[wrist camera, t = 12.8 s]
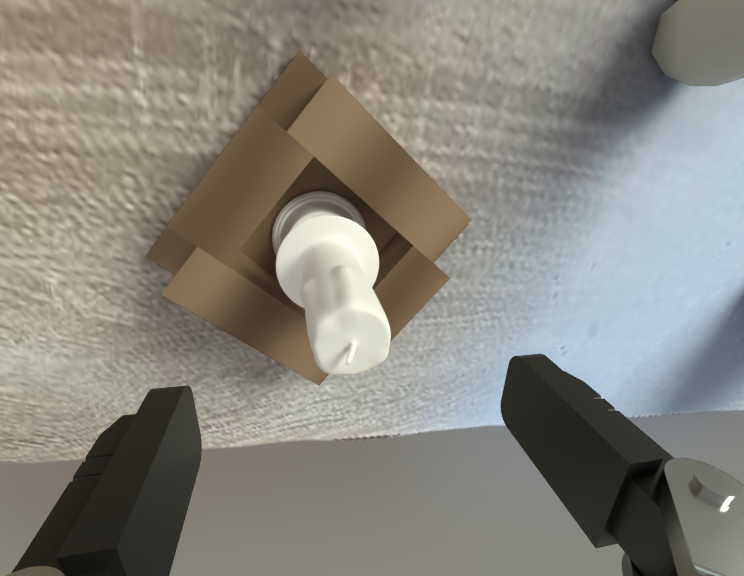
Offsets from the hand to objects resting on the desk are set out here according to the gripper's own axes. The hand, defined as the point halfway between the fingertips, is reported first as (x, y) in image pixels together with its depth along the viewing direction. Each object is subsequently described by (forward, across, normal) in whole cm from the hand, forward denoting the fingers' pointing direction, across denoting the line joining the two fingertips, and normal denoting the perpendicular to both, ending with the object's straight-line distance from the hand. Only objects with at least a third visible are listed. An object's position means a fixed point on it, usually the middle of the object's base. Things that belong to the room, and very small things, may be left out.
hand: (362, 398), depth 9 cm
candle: (+13, 0, -1) cm, 13 cm away
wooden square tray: (+14, 0, -1) cm, 14 cm away
